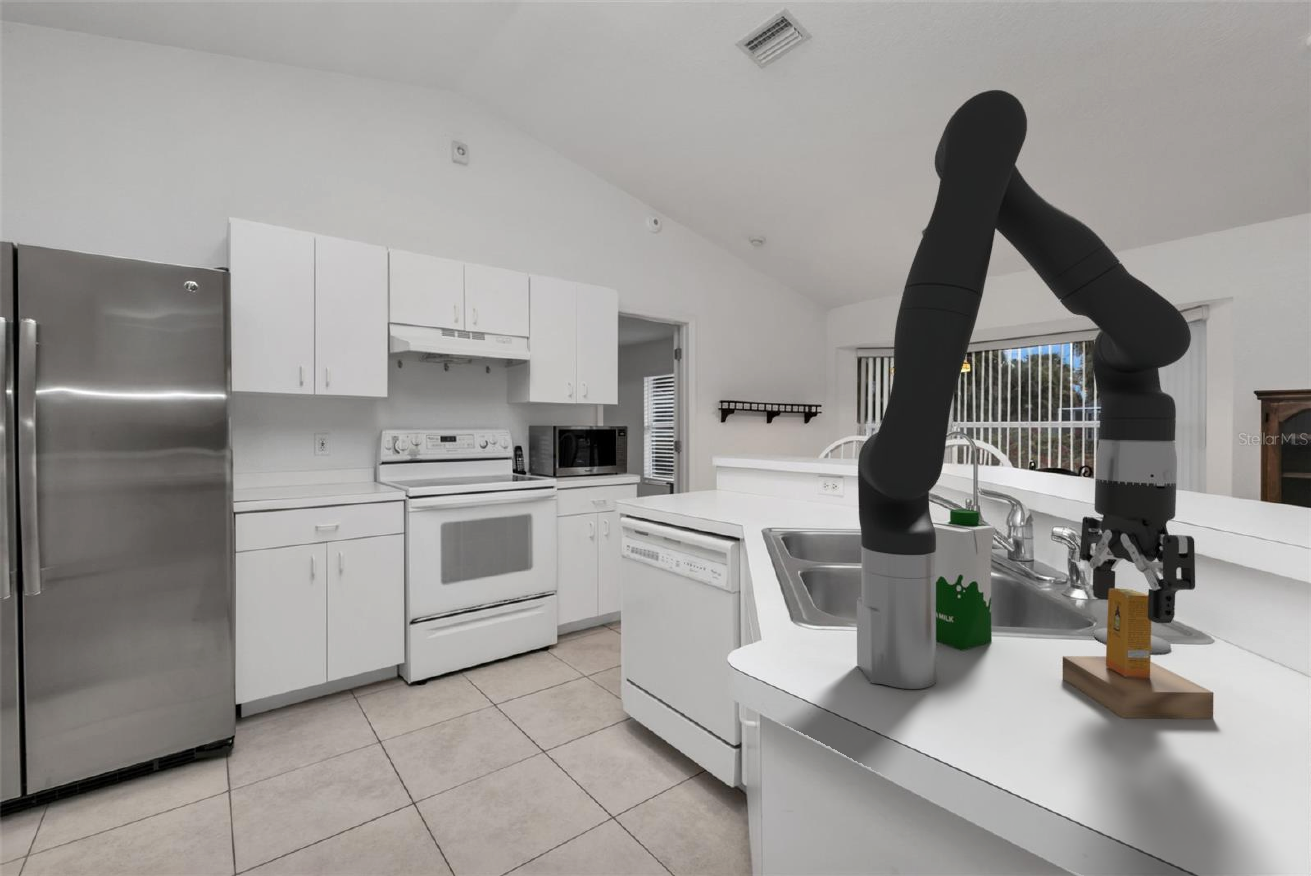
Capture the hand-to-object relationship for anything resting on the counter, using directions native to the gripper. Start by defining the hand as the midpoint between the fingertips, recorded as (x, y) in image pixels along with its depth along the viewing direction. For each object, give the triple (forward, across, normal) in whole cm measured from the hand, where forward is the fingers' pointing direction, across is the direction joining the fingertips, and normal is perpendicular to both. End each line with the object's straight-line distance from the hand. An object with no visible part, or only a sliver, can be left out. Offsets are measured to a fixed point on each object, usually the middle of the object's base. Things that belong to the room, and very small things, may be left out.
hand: (1130, 609), depth 69 cm
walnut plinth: (+11, 0, +1) cm, 11 cm away
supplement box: (+8, 0, 0) cm, 8 cm away
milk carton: (+11, -19, -12) cm, 25 cm away
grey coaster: (+10, -18, +14) cm, 25 cm away
